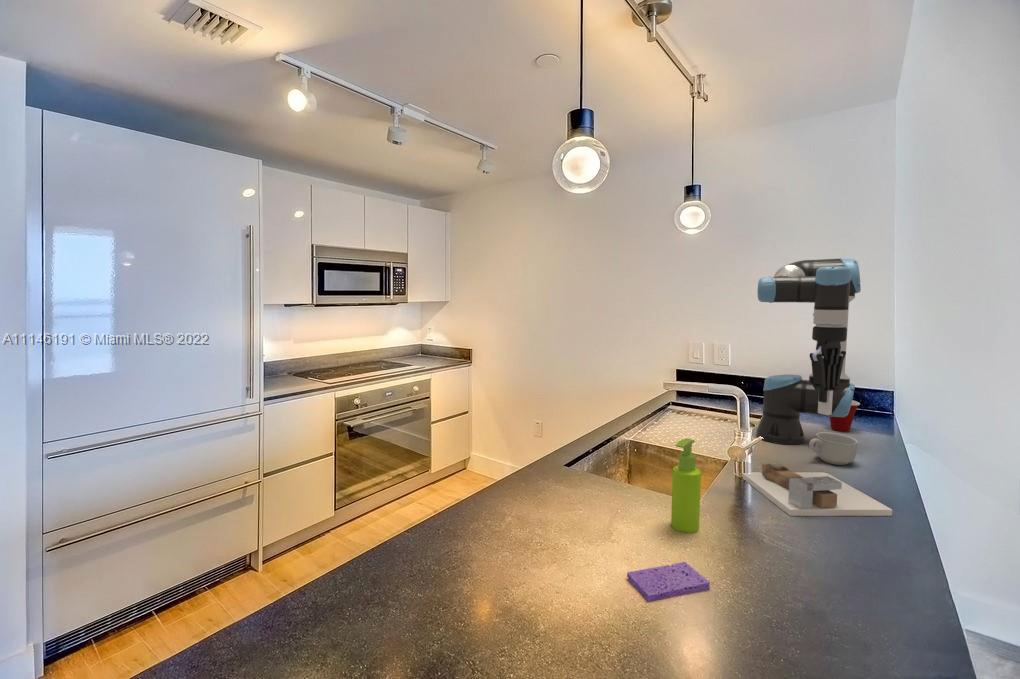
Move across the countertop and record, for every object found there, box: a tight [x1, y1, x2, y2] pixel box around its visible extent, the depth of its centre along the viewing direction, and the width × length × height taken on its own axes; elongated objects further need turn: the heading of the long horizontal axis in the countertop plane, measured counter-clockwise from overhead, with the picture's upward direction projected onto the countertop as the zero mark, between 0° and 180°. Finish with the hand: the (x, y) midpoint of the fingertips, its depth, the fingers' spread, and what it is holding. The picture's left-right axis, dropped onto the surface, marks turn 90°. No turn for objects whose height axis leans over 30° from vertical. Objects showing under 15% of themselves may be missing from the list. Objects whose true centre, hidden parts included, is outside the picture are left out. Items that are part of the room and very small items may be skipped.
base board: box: [742, 471, 893, 517], centre depth 122 cm, size 24×24×2 cm
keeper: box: [788, 476, 843, 509], centre depth 113 cm, size 4×10×7 cm, turn 98°
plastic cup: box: [828, 399, 861, 433], centre depth 181 cm, size 11×11×12 cm
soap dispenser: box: [670, 437, 702, 534], centre depth 104 cm, size 6×7×20 cm
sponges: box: [626, 561, 711, 602], centre depth 84 cm, size 7×13×2 cm, turn 106°
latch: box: [761, 462, 837, 508], centre depth 121 cm, size 21×6×4 cm, turn 8°
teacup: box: [808, 431, 859, 466], centre depth 146 cm, size 14×11×8 cm
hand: (824, 413), depth 125 cm, fingers closed
